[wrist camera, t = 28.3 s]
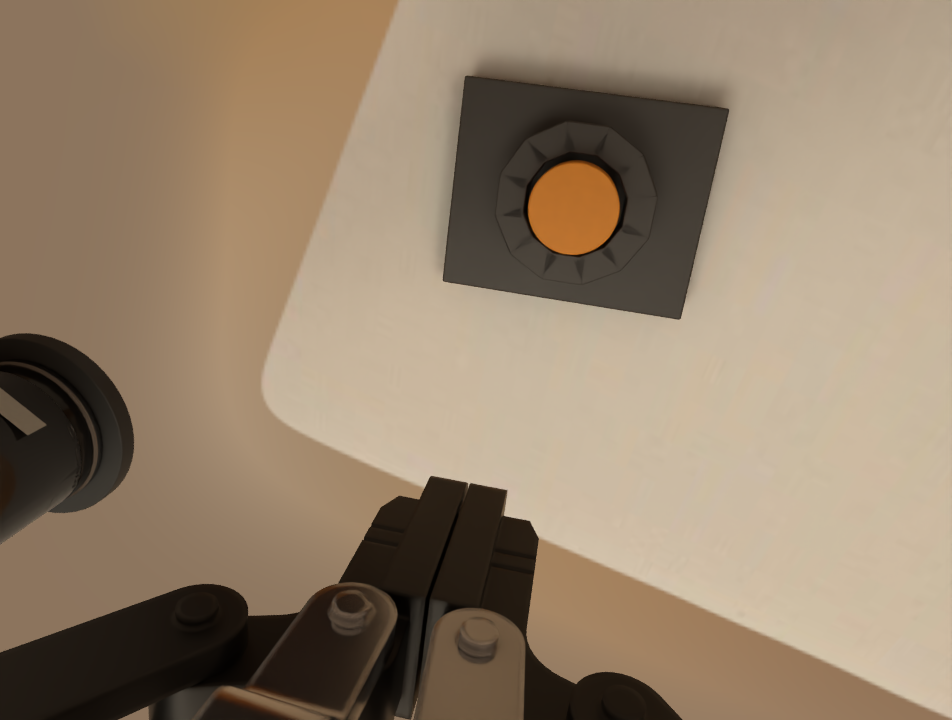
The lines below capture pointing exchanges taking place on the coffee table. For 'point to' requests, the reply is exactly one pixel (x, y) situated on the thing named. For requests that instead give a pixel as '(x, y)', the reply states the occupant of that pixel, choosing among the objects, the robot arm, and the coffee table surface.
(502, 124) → the push button panel
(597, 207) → the button
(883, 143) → the coffee table surface
